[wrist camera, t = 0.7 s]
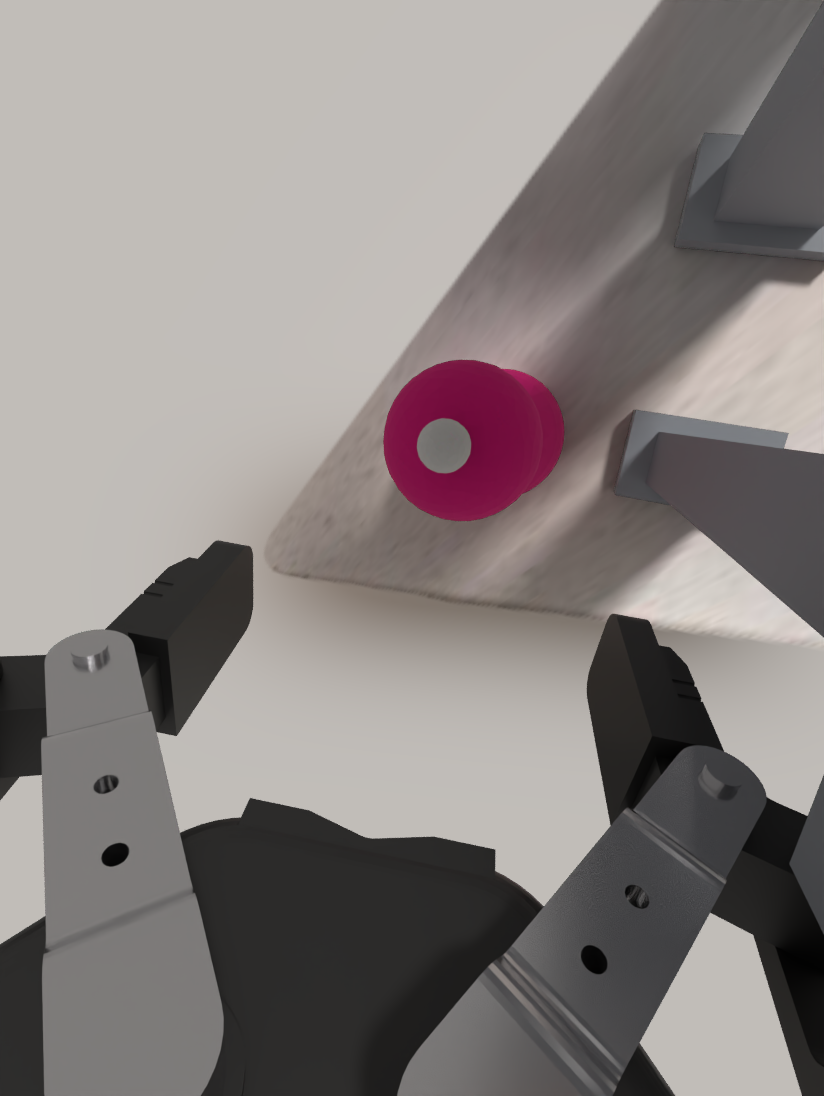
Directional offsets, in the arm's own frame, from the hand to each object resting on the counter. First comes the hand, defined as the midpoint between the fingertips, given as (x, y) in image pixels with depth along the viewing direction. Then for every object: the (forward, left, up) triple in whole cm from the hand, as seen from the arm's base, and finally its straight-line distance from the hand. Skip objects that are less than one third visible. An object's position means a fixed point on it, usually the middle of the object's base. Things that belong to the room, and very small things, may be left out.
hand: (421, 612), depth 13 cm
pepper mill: (-2, -2, -26) cm, 26 cm away
